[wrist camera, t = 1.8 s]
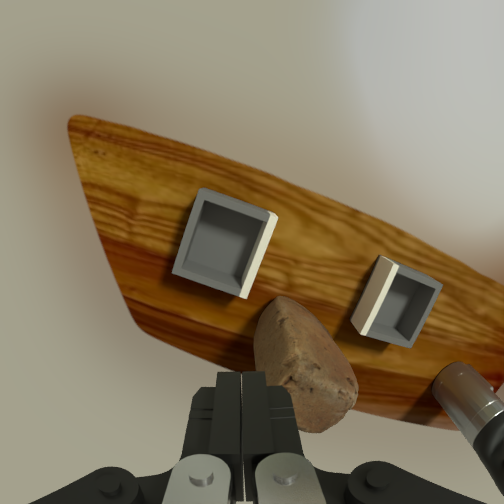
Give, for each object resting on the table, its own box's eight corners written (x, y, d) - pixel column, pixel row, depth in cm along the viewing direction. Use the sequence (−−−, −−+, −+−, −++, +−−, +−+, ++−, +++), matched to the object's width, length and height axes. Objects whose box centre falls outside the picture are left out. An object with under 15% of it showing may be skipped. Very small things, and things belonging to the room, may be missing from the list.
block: (247, 324, 47) (251, 415, 28) (277, 285, 46) (302, 362, 26) (303, 357, 49) (332, 448, 29) (333, 322, 47) (381, 404, 28)
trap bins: (426, 274, 46) (442, 284, 41) (397, 334, 49) (410, 348, 44) (204, 187, 42) (199, 189, 37) (178, 262, 44) (171, 273, 39)
